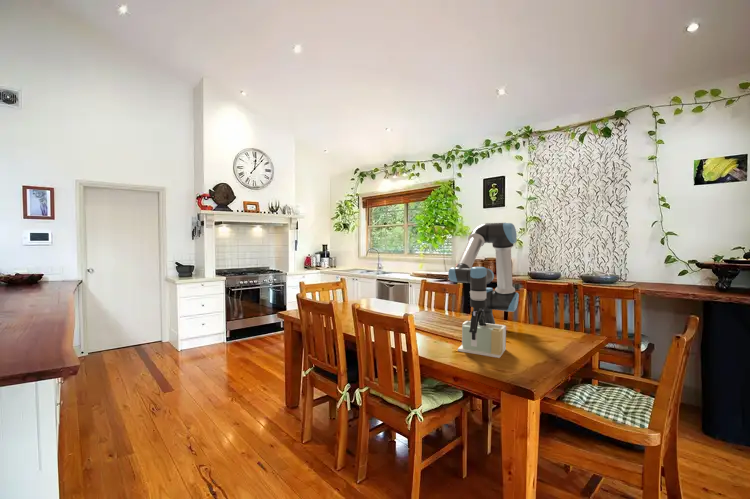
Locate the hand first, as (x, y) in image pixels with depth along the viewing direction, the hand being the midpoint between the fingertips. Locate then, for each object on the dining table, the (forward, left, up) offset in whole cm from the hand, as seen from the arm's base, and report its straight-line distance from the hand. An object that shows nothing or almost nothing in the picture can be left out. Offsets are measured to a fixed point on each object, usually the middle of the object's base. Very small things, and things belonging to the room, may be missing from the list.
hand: (477, 342), depth 179 cm
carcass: (-4, +1, -5) cm, 6 cm away
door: (0, +2, -4) cm, 4 cm away
